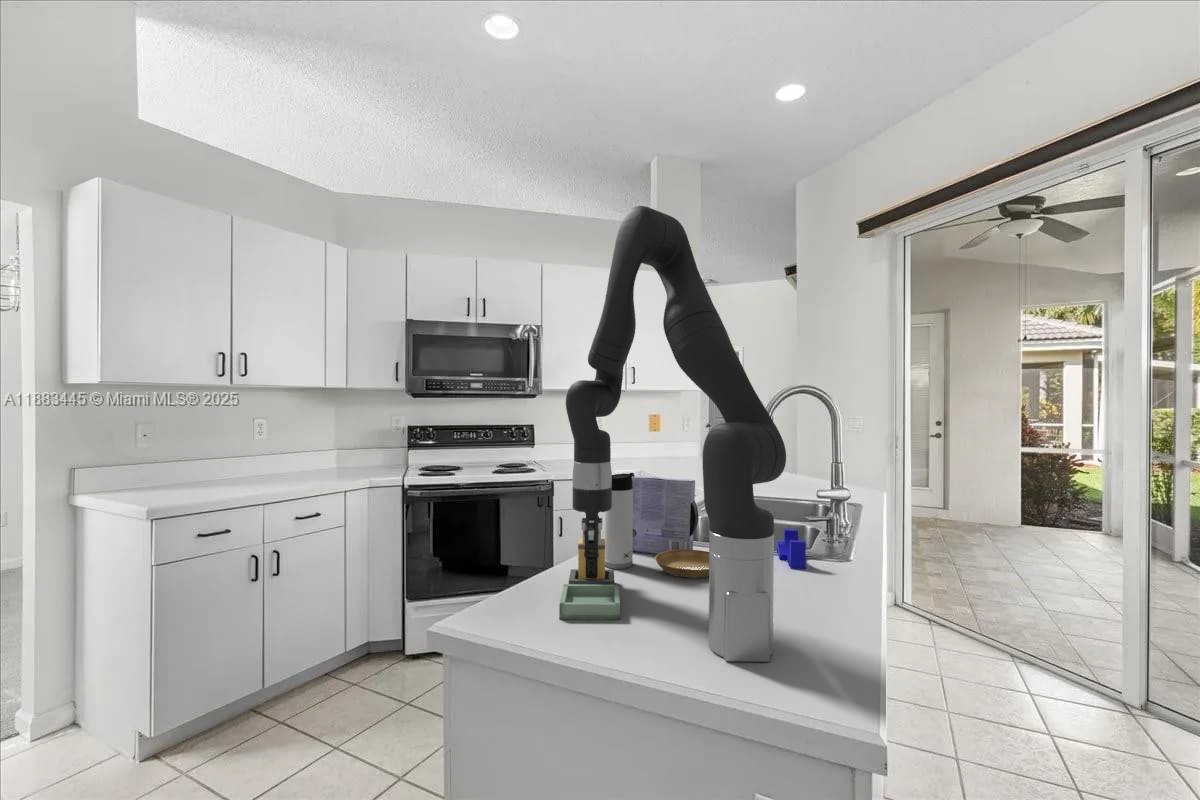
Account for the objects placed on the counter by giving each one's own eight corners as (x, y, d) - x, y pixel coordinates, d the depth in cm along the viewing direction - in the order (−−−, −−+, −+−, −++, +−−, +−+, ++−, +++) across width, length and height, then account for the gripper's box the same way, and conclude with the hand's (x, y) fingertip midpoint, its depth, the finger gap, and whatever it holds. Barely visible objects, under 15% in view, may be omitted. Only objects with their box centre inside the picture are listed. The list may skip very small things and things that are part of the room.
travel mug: (634, 569, 124) (635, 475, 124) (603, 569, 124) (603, 475, 124) (633, 561, 130) (633, 471, 130) (603, 560, 131) (604, 471, 130)
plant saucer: (732, 582, 117) (732, 569, 117) (658, 582, 117) (658, 569, 117) (717, 561, 132) (717, 549, 132) (652, 560, 132) (652, 549, 132)
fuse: (605, 591, 111) (605, 543, 111) (578, 591, 111) (578, 543, 111) (605, 584, 114) (605, 538, 114) (578, 584, 114) (578, 538, 114)
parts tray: (619, 619, 97) (619, 604, 97) (559, 619, 97) (559, 604, 97) (618, 598, 107) (618, 584, 107) (563, 597, 107) (563, 584, 107)
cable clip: (776, 554, 137) (777, 528, 137) (796, 555, 136) (797, 529, 136) (783, 569, 125) (783, 541, 125) (805, 570, 125) (805, 542, 124)
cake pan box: (698, 552, 137) (699, 477, 137) (694, 558, 133) (694, 480, 132) (620, 545, 144) (620, 473, 144) (614, 550, 139) (614, 476, 139)
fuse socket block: (614, 594, 109) (614, 581, 109) (568, 594, 109) (568, 580, 109) (613, 582, 116) (613, 569, 116) (570, 581, 116) (570, 569, 116)
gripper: (612, 491, 105) (611, 586, 105) (611, 479, 119) (611, 563, 119) (570, 491, 105) (570, 586, 105) (574, 479, 119) (574, 563, 120)
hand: (591, 573), depth 112 cm, fingers closed on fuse, 3 cm apart
